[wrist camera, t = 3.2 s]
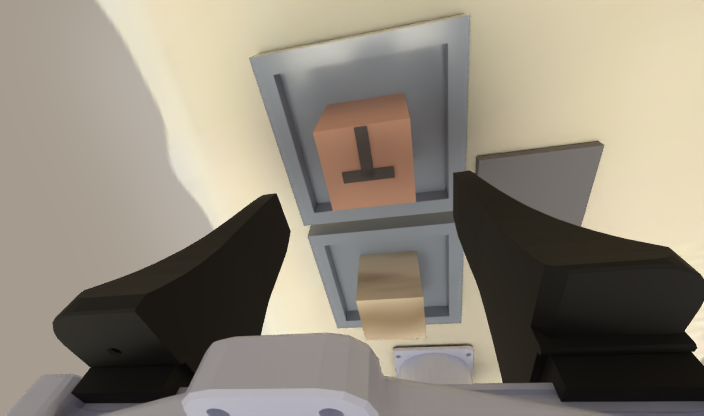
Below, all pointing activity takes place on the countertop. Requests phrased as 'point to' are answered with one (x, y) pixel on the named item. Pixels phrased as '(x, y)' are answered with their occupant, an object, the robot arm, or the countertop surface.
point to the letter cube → (367, 152)
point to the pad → (546, 177)
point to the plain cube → (390, 296)
